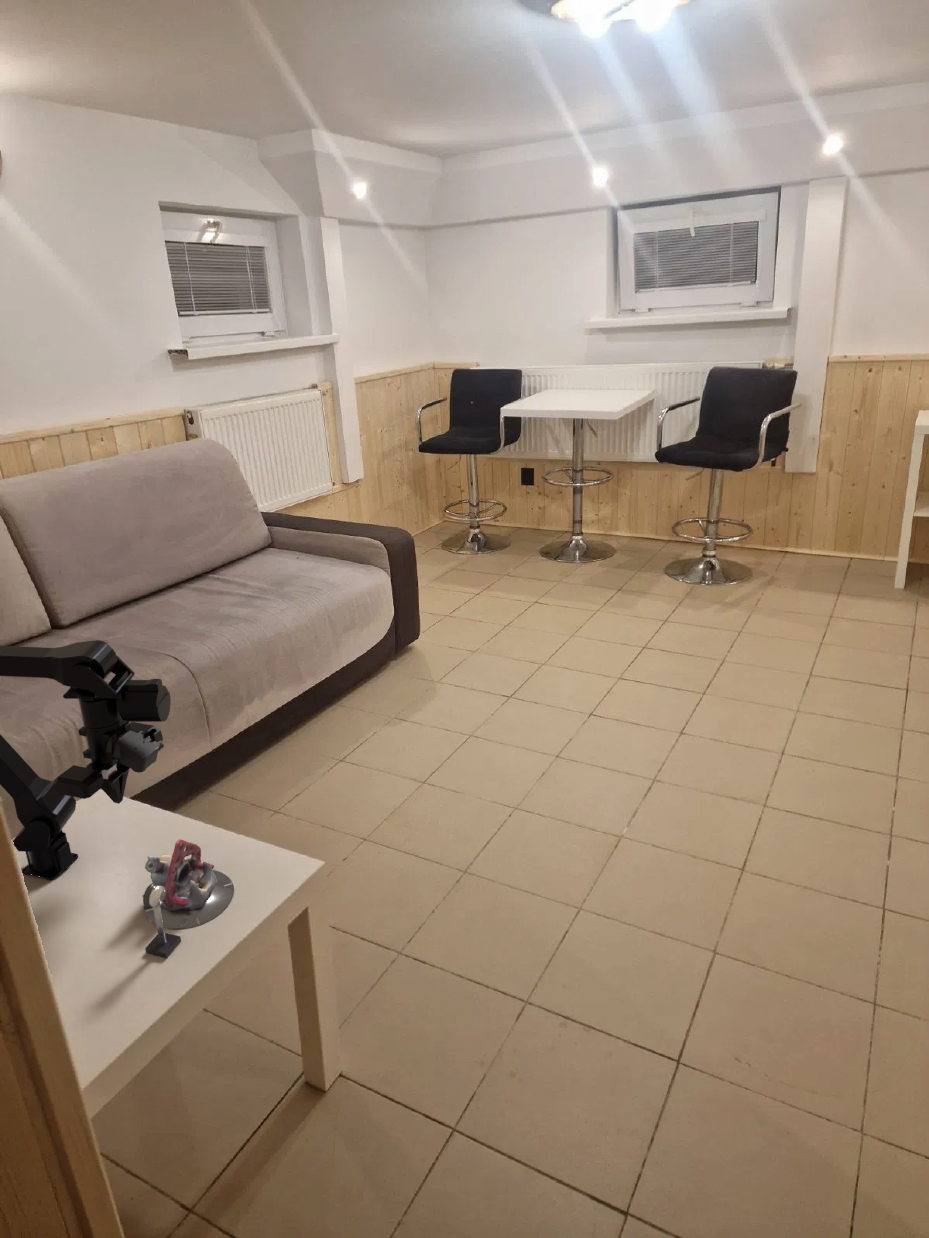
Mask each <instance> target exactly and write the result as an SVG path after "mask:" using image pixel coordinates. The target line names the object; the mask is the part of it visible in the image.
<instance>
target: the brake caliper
mask: <svg viewBox="0 0 929 1238" xmlns="http://www.w3.org/2000/svg"><path fill="white" fill-rule="evenodd" d="M173 848H174V849H173V853H172V855H164V854H162V855H159V856H151V855H150V856H147V861H146V862H145V864H144V865H145V866H144V869H145V870H146V871H147V873H149V874H150V879H151V882H152V883H157V884H159V885H160V886H163V887H164V888H165V890H166V895H165V899H164V901H163V903H162V904H161V905H160V906H161V907H162V908H164V909H165V910H168V911H176V910H178V909H191V910H195V909H198V908H201V907H202V906H203V904H204V903H205V901H206V900H207V898H208V896H209V895H210V894H211V893H212V891H213V889H214V888H215V886H216V884H217V879H216V876H215V874H214V872H213V870H214V868H215V864H212V863H210V862H208V861H207V860H204V861H203V862H202V858H201V857H202V850H201V849H202V848H201V847H200V846H199V845H198V844H196V843H194V842H189V841H187V840H184V839H178V840H177V841H176V842H175V844H174V847H173ZM190 855H191V857H190V858H186V857H189V856H190ZM143 897H144V894H143V895H142V898H143Z"/></svg>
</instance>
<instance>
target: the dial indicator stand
mask: <svg viewBox="0 0 929 1238" xmlns="http://www.w3.org/2000/svg"><path fill="white" fill-rule="evenodd" d="M143 895H144V897H143V896H142V902H143V903H142V904H143V905H144V906H145V907H149V908H152V907H153V910H154V916H155V921H156V926H155V927H156V931H157V934H156V936H155V937H154V938H152V939H151V941H150V942H149V943H148V944H147V945H146V947H145V954H147V955H150V956H155V957H158V958H162V959H166V960H167V959H168V958H169V957H170V956H171V955H172V953H173V952H174V951H175V950H176V949H177V947H178V946H179V945H180V944H181V942H182V939H181V935H177V934H171V933H169V932H168V933H167V932H166V931H165V930H166V929H165V928H164V925H163V919H162V913H161V908H160V905H161V904H162V903H163V901H164V899H165V895H166V890H165V888H164V887H163V886H160V885H159V884H157V883H153V882H152V883H150V884H148V886H147V887H146V889H145V891H144V894H143Z"/></svg>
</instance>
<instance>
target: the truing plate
mask: <svg viewBox="0 0 929 1238" xmlns="http://www.w3.org/2000/svg"><path fill="white" fill-rule="evenodd" d="M213 872H214V874H215V876H216V879H217V884H216V886H215V888H214V889H213V891H212V893H211V894H210V895H209V896H208V898H207V900H206V901H205V903H204V904H203V906H202V907H201V908H198V909H195V910H191V909H178V910H176V911H168V910H165V909H164V908H162V907H161V906H160V908H161V913H162V919H163V925H164V929H169V930H183V929H190V928H194V927H197V926H200V925H204V924H207V923H208V922H209V921H212V920H213V919H215V918H217V917H218V916H219V915H220V914H222V913H223V912H224V911H226V909H227V908H228V907H229V906H230V904H231V902H232V900H233V898H234V895H235V886H234V883H233V881H232V879H231V878H230V877H229V876H228V875H226V874H225V873H223V872H221V871H219V870H217V869H213ZM143 909H144V914H145V916H146V918H147V920H149V921H150V923H152V924H153V925H156V921H155V916H154V910H153V907H152V908H149V907H145V906H144V907H143Z"/></svg>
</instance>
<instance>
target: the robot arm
mask: <svg viewBox="0 0 929 1238" xmlns="http://www.w3.org/2000/svg"><path fill="white" fill-rule="evenodd" d="M110 674H114V676H113V677H112V679H111V680H110V681H109V682H107V681H106V679H107V678H108V677H109V676H110ZM134 676H135V672H134V671H133V670H132V668H130V667H129V665H127V664H126V663H125V662H124V660H122V658H120V657H119V656H118V655H117V652H115V650H114V648H112V647H111V645H109V643H108V642H106V641H103V640H98V639H97V640H95V639H94V640H86V641H78V642H75V643H71V644H68V645H64V646H58V647H57V646H56V647H42V646H41V647H39V646H20V645H19V646H17V645H16V646H15V645H0V677H8V678H9V677H12V678H34V679H35V678H37V679H48V680H53V681H56V682H57V683H60V684H61V685H63V686H65V687H69V688H68V689H67V691H65V692H64V693H63V695H62V698H63V699H65V700H67V699H69V700H72V699H73V700H75V699H76V700H78V703H79V709H80V715H81V718H82V719H81V720H82V724H83V726H82V727H80V728H79V729H78V730H77V731H78V734H79V736H81V737H85V738H86V739H85V740H86V744H87V748H86V750H84V751H82V754H83V758H84V759H89V760H90V762H89V763H88V764H87V765H85V766H79V765H75V764H73V765H72V766H70V767H69V768H68V769H66V770H64V771H63V772H62V773H61V774H60V775H58V776H57V777H56V778H54V779H53V780H49V779H46V778H42V777H40V776H39V775H38V774H37V773H36V771H34V769H33V768H32V767H31V766H30V765H29V764H28V763H27V762H26V761H25V760H24V758H22V756H21V755H20V754H19V753H18V752H17V751H16V750H15V748H13V747H12V745H11V744H10V743H9V742H8V741H7V740H6V739H5V738H4V736H3V735H2V734H1V733H0V786H1V787H2V788H3V789H4V791H5V792H6V793H7V794H8V795H9V796H10V797H11V799H12V800H13V804H14V809H15V813H16V817H17V818H16V819H18V821H19V822H20V824H21V825H22V826H23V827H22V829H20V831H19V832H18V833H17V834H16V836H15V837H14V838H13V840H12V841H13V842H14V844H13V846H14V847H15V849H16V850H17V851H18V852H25V855H26V860H27V865H26V866H24V867H23V868H22V869H21V873H22V874H24V875H28V876H32V875H33V876H32V877H36V876H40V877H43V878H42V879H44V878H45V879H46V880H48V879H49V881H52V879H53V880H55V879H56V878H57V877H58V876H59V875H61V873H63V872H64V871H65V870H66V869H67V868H68V867H70V865H72V864H73V863H74V862H75V861H76V860H77V859H79V854H78V853H74V852H72V850H71V847H70V846H71V845H70V842H69V841H68V838H67V833H66V832H64V831H63V828H64V827H65V826H66V825H67V823H68V822H69V820H70V819H71V817H72V816H73V815H74V813H75V811H76V806H77V800H76V799H75V798H79V799H83V800H85V799H89V798H92V796H94V795H95V794H96V793H97V792H99V791H100V790H102V791H103V792H104V794H106V795H107V797H108V798H110V800H111V801H112V802H113V803H115V804H120V803H122V802H123V800H124V795H125V789H126V786H127V785H126V784H127V779H128V776H129V772H130V770H132V771H133V772H135V773H137V774H138V773H139V774H140V773H144V772H145V771H146V770H147V768H149V767H150V766H152V765H153V764H154V763H155V762H156V761H157V758H158V754H159V752H160V751H161V750H163V749H164V747H165V745H164V744H163V742H164V741H163V740H164V738H163V734H162V730H161V728H159V727H157V726H155V725H153V724H147V722H149V723H150V722H151V723H152V722H154V723H155V722H160V723H161V722H166V721H167V720H168V718H169V715H170V710H171V693H170V691H169V690H168V687H167V686H166V685H163V680H162V678H151V679H133V678H134ZM142 722H143V723H142ZM145 722H146V723H145ZM30 874H32V875H30ZM40 877H39V878H40Z"/></svg>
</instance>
